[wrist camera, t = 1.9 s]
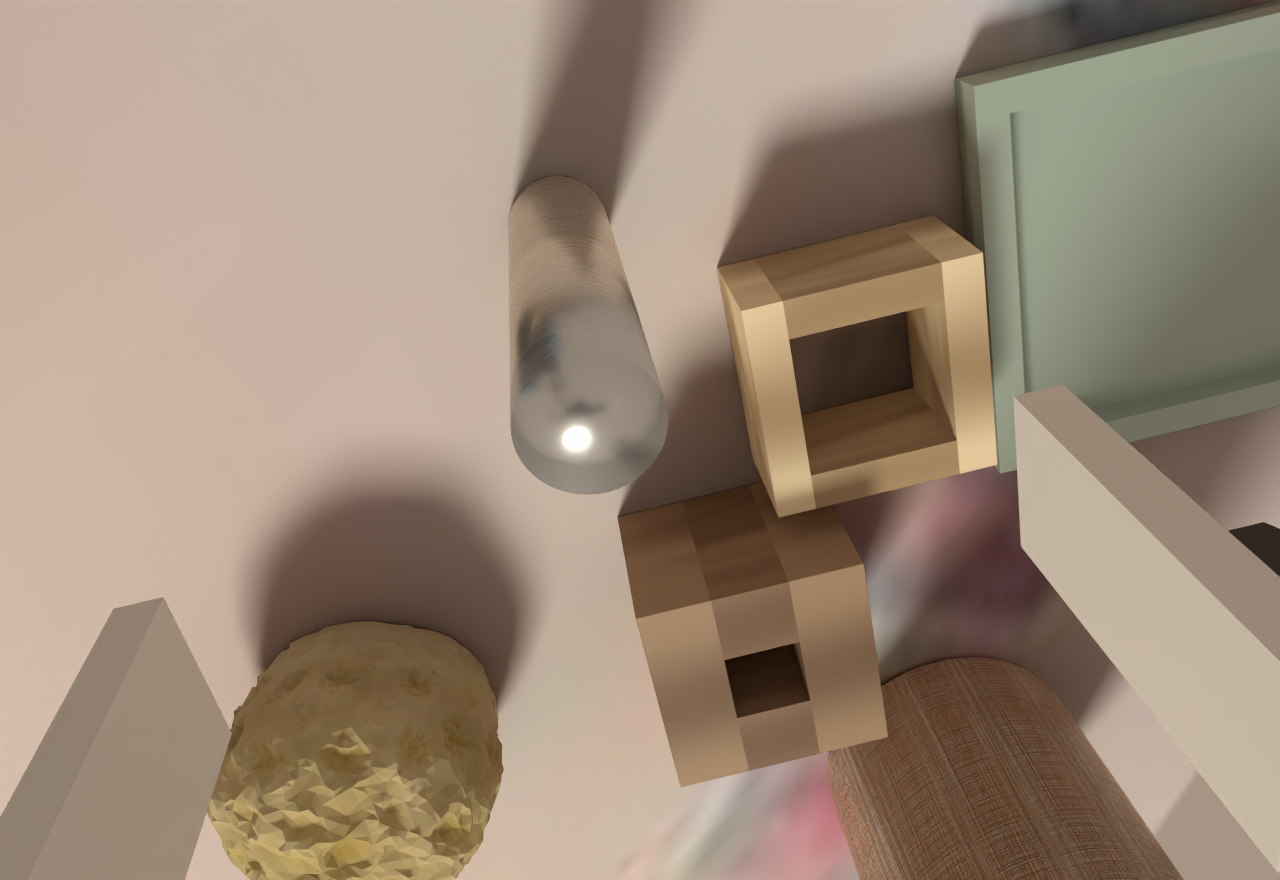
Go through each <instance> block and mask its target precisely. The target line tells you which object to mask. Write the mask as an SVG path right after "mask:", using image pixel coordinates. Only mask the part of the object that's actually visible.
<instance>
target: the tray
mask: <svg viewBox="0 0 1280 880" xmlns="http://www.w3.org/2000/svg"><path fill="white" fill-rule="evenodd" d="M955 89H956V102H957V116H958V129H959V142H960V155H961V169H962V182H963V195H964V208H965V222H966V235H967V241H968V242H969V243H971V244H972V245H973V246H975V247H976V248H977V249H979V250H980V251H981V252H983V263H984V277H985V292H986V306H987V321H988V335H989V350H990V365H991V379H992V394H993V408H994V423H995V437H996V452H997V465H994V467H995V468H996V470H997V471H998V472H999V473H1000V474H1001V473H1005V472H1010V471H1014V470H1017V458H1016V439H1015V420H1014V400H1013V396H1016V395H1020V394H1024V393H1029V392H1033V391H1037V390H1041V389H1046V388H1050V387H1054V386H1058V385H1062V384H1063V385H1064V386H1065V387H1066V388H1067V389H1068V390H1070V391H1071V392H1072V393H1073V394H1074V395H1075V396H1076V397H1077V398H1079V399H1080V400H1081V401H1082V402H1083V403H1084V404H1085V405H1086V406H1088V407H1089V408H1090V409H1091V410H1092V411H1093V412H1094V413H1095V414H1097V415H1098V416H1099V417H1100V418H1101V419H1102V420H1103V421H1104V422H1106V423H1107V424H1108V425H1109V426H1110V427H1111V428H1112V429H1114V430H1115V431H1116V432H1117V433H1118V434H1119V435H1120V436H1121V437H1123V438H1124V439H1125V440H1126V441H1127V442H1128V443H1129V442H1133V441H1137V440H1142V439H1146V438H1150V437H1154V436H1158V435H1162V434H1166V433H1170V432H1175V431H1179V430H1183V429H1187V428H1191V427H1195V426H1199V425H1203V424H1208V423H1212V422H1216V421H1220V420H1224V419H1228V418H1232V417H1236V416H1241V415H1245V414H1249V413H1253V412H1257V411H1261V410H1265V409H1269V408H1274V407H1278V406H1280V0H1277V1H1273V2H1269V3H1265V4H1261V5H1256V6H1252V7H1248V8H1244V9H1240V10H1236V11H1232V12H1227V13H1223V14H1219V15H1215V16H1211V17H1207V18H1203V19H1199V20H1194V21H1190V22H1186V23H1182V24H1178V25H1174V26H1170V27H1165V28H1161V29H1157V30H1153V31H1149V32H1145V33H1141V34H1136V35H1132V36H1128V37H1124V38H1120V39H1116V40H1112V41H1108V42H1103V43H1099V44H1095V45H1091V46H1087V47H1083V48H1079V49H1074V50H1070V51H1066V52H1062V53H1058V54H1054V55H1050V56H1046V57H1041V58H1037V59H1033V60H1029V61H1025V62H1021V63H1017V64H1012V65H1008V66H1004V67H1000V68H996V69H992V70H988V71H983V72H979V73H975V74H971V75H967V76H963V77H959V78H955Z"/></svg>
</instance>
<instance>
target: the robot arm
mask: <svg viewBox="0 0 1280 880" xmlns="http://www.w3.org/2000/svg"><path fill="white" fill-rule="evenodd" d="M1013 400H1014V420H1015V439H1016V458H1017V478H1018V497H1019V517H1020V536H1021V547H1022V548H1023V549H1024V551H1025V552H1026V553H1027V555H1028V556H1029V557H1030V558H1031V560H1032V561H1033V562H1034V563H1035V565H1036V566H1037V567H1038V568H1039V570H1040V571H1041V572H1042V574H1043V575H1044V576H1045V577H1046V579H1047V580H1048V581H1049V582H1050V584H1051V585H1052V586H1053V588H1054V589H1055V590H1056V591H1057V593H1058V594H1059V595H1060V596H1061V598H1062V599H1063V600H1064V602H1065V603H1066V604H1067V605H1068V607H1069V608H1070V609H1071V610H1072V612H1073V613H1074V614H1075V616H1076V617H1077V618H1078V619H1079V621H1080V622H1081V623H1082V624H1083V626H1084V627H1085V628H1086V630H1087V631H1088V632H1089V633H1090V635H1091V636H1092V637H1093V638H1094V640H1095V641H1096V642H1097V643H1098V645H1099V646H1100V647H1101V649H1102V650H1103V651H1104V652H1105V654H1106V655H1107V656H1108V657H1109V659H1110V660H1111V661H1112V663H1113V664H1114V665H1115V666H1116V668H1117V669H1118V670H1119V671H1120V673H1121V674H1122V675H1123V677H1124V678H1125V679H1126V680H1127V682H1128V683H1129V684H1130V685H1131V687H1132V688H1133V689H1134V691H1135V692H1136V693H1137V694H1138V696H1139V697H1140V698H1141V699H1142V701H1143V702H1144V703H1145V705H1146V706H1147V707H1148V708H1149V710H1150V711H1151V712H1152V713H1153V715H1154V716H1155V717H1156V719H1157V720H1158V721H1159V722H1160V724H1161V725H1162V726H1163V727H1164V729H1165V730H1166V731H1167V732H1168V734H1169V735H1170V736H1171V738H1172V739H1173V740H1174V741H1175V743H1176V744H1177V745H1178V746H1179V748H1180V749H1181V750H1182V752H1183V753H1184V754H1185V755H1186V757H1187V758H1188V759H1189V760H1190V762H1191V763H1192V764H1193V766H1194V767H1195V768H1196V769H1197V771H1198V772H1199V773H1200V774H1201V776H1202V777H1203V778H1204V779H1205V781H1206V782H1207V783H1208V784H1209V786H1210V787H1211V788H1212V790H1213V791H1214V792H1215V794H1216V795H1217V796H1218V797H1219V799H1220V800H1221V801H1222V802H1223V804H1224V805H1225V806H1226V807H1227V809H1228V810H1229V811H1230V813H1231V814H1232V815H1233V816H1234V818H1235V819H1236V820H1237V821H1238V823H1239V824H1240V825H1241V827H1242V828H1243V829H1244V830H1245V832H1246V833H1247V834H1248V835H1249V837H1250V838H1251V839H1252V841H1253V842H1254V843H1255V844H1256V846H1257V847H1258V848H1259V849H1260V851H1261V852H1262V853H1263V855H1264V856H1265V857H1266V858H1267V860H1268V861H1269V862H1270V863H1271V865H1272V866H1273V867H1274V868H1275V870H1276V871H1277V872H1280V529H1279V528H1276V527H1274V526H1272V525H1269V524H1267V523H1264V522H1263V523H1259V524H1254V525H1250V526H1246V527H1242V528H1238V529H1233V530H1229V531H1227V530H1226V529H1225V528H1224V527H1223V526H1222V525H1221V524H1220V523H1218V522H1217V521H1216V520H1215V519H1214V518H1213V517H1212V516H1211V515H1209V514H1208V513H1207V512H1206V511H1205V510H1204V509H1203V508H1201V507H1200V506H1199V505H1198V504H1197V503H1196V502H1195V501H1194V500H1192V499H1191V498H1190V497H1189V496H1188V495H1187V494H1186V493H1185V492H1183V491H1182V490H1181V489H1180V488H1179V487H1178V486H1177V485H1176V484H1174V483H1173V482H1172V481H1171V480H1170V479H1169V478H1168V477H1167V476H1165V475H1164V474H1163V473H1162V472H1161V471H1160V470H1159V469H1157V468H1156V467H1155V466H1154V465H1153V464H1152V463H1151V462H1150V461H1148V460H1147V459H1146V458H1145V457H1144V456H1143V455H1142V454H1141V453H1139V452H1138V451H1137V450H1136V449H1135V448H1134V447H1133V446H1132V445H1130V444H1129V443H1128V442H1127V441H1126V440H1125V439H1124V438H1123V437H1121V436H1120V435H1119V434H1118V433H1117V432H1116V431H1115V430H1114V429H1112V428H1111V427H1110V426H1109V425H1108V424H1107V423H1106V422H1104V421H1103V420H1102V419H1101V418H1100V417H1099V416H1098V415H1097V414H1095V413H1094V412H1093V411H1092V410H1091V409H1090V408H1089V407H1088V406H1086V405H1085V404H1084V403H1083V402H1082V401H1081V400H1080V399H1079V398H1077V397H1076V396H1075V395H1074V394H1073V393H1072V392H1071V391H1070V390H1068V389H1067V388H1066V387H1065V386H1064V385H1063V384H1062V385H1058V386H1054V387H1050V388H1046V389H1041V390H1037V391H1033V392H1029V393H1024V394H1020V395H1016V396H1013ZM231 735H232V733H231V731H230V729H229V727H228V725H227V723H226V721H225V719H224V717H223V715H222V713H221V711H220V709H219V707H218V705H217V703H216V701H215V699H214V697H213V695H212V693H211V691H210V689H209V687H208V685H207V683H206V681H205V679H204V677H203V675H202V673H201V671H200V669H199V667H198V665H197V663H196V661H195V659H194V657H193V655H192V653H191V651H190V649H189V647H188V645H187V643H186V641H185V639H184V637H183V635H182V633H181V631H180V629H179V627H178V625H177V623H176V621H175V619H174V617H173V615H172V613H171V611H170V609H169V607H168V605H167V603H166V601H165V599H164V597H162V598H158V599H153V600H149V601H145V602H141V603H137V604H132V605H128V606H124V607H120V608H115V609H113V611H112V613H111V615H110V616H109V618H108V620H107V622H106V624H105V626H104V627H103V629H102V631H101V633H100V635H99V637H98V638H97V640H96V642H95V644H94V646H93V648H92V650H91V651H90V653H89V655H88V657H87V659H86V661H85V662H84V664H83V666H82V668H81V670H80V672H79V673H78V675H77V677H76V679H75V681H74V683H73V685H72V686H71V688H70V690H69V692H68V694H67V696H66V697H65V699H64V701H63V703H62V705H61V707H60V708H59V710H58V712H57V714H56V716H55V718H54V719H53V721H52V723H51V725H50V727H49V729H48V731H47V732H46V734H45V736H44V738H43V740H42V742H41V743H40V745H39V747H38V749H37V751H36V753H35V754H34V756H33V758H32V760H31V762H30V764H29V766H28V767H27V769H26V771H25V773H24V775H23V777H22V778H21V780H20V782H19V784H18V786H17V788H16V789H15V791H14V793H13V795H12V797H11V799H10V801H9V802H8V804H7V806H6V808H5V810H4V812H3V813H2V815H1V817H0V880H185V877H186V874H187V871H188V868H189V865H190V862H191V859H192V856H193V853H194V849H195V846H196V843H197V840H198V837H199V834H200V831H201V828H202V825H203V822H204V818H205V815H206V812H207V809H208V806H209V803H210V800H211V797H212V794H213V791H214V788H215V784H216V781H217V778H218V775H219V772H220V769H221V766H222V763H223V760H224V757H225V753H226V750H227V747H228V744H229V741H230V738H231Z"/></svg>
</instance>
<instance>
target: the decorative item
mask: <svg viewBox="0 0 1280 880" xmlns="http://www.w3.org/2000/svg"><path fill="white" fill-rule="evenodd" d="M496 708H497V702H496V696H495V694H494V692H493V690H492V689H491V687H490V683H489V678H488V677H487V675H486V674H485V667H484V666H483V665H482V664H481V663H480V662H479V661H478V660H477V659H476V658H475V657H474V655H473V654H472V653H471V652H470V651H469V650H467V649H466V648H465V647H464V646H463V645H461V644H460V643H459V642H457V641H456V640H454V639H453V638H451V637H449V636H446V635H444V634H441V633H439V632H436V631H431V630H427V629H421V628H414V627H412V626H410V625H395V624H388V623H382V622H375V621H359V622H349V623H343V624H338V625H333V626H327V627H325V628H324V629H322V630H321V631H319V632H316V633H313V634H309V635H306V636H303V637H301V638H299V639H297V640H295V641H293V642H291V643H289V648H288V649H286V650H283V651H282V652H281V653H280V654H279V655H278V656H277V657H276V658H275V660H274V661H273V662H272V663H271V665H270V666H269V668H268V669H267V670H266V671H265V672H263V673H262V674H261V675H260V676H258V685H257V686H256V687H252V689H251V691H250V693H249V695H248V697H247V698H246V700H245V702H244V703H243V705H242V706H239V707H238V708H237V709H236V710H235V711H234V720H233V724H232V728H231V730H230V731H231V733H232V735H231V738H230V741H229V744H228V747H227V750H226V753H225V757H224V760H223V763H222V766H221V769H220V772H219V775H218V778H217V781H216V784H215V788H214V791H213V794H212V797H211V800H210V803H209V806H208V809H207V813H208V816H209V818H210V821H211V822H212V824H213V826H214V828H215V829H216V831H217V832H218V834H219V835H220V837H221V839H222V844H223V848H224V850H225V852H226V854H227V856H228V858H229V859H230V861H231V862H232V863H233V864H234V865H235V866H236V867H238V868H239V869H240V870H241V871H242V872H243V873H244V874H245V875H246V876H247V877H248V878H249V879H250V880H454V879H456V878H457V877H458V874H459V873H460V872H461V871H462V870H463V868H464V865H466V864H468V863H469V861H470V859H471V857H472V856H473V855H474V854H475V853H476V851H477V849H478V848H479V846H480V844H481V843H482V841H483V831H484V828H485V827H486V825H487V823H488V821H489V819H490V812H491V810H492V807H493V804H494V801H495V798H496V796H497V793H498V792H499V787H500V783H501V776H502V773H503V771H504V769H503V766H502V744H501V742H500V741H499V739H498V734H497V729H498V716H497V709H496Z"/></svg>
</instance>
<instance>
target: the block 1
mask: <svg viewBox="0 0 1280 880" xmlns="http://www.w3.org/2000/svg"><path fill="white" fill-rule="evenodd" d="M717 271H718V276H719V282H720V287H721V292H722V297H723V303H724V308H725V313H726V319H727V324H728V329H729V335H730V340H731V345H732V351H733V356H734V361H735V367H736V372H737V377H738V382H739V388H740V393H741V398H742V404H743V409H744V414H745V420H746V425H747V430H748V436H749V441H750V446H751V451H752V457H753V460H754V462H755V465H756V467H757V469H758V471H759V474H760V476H761V478H762V481H763V483H764V485H765V488H766V490H767V492H768V494H769V497H770V499H771V501H772V504H773V506H774V508H775V510H776V513H777V515H778V517H784V516H788V515H792V514H796V513H800V512H804V511H808V510H813V509H817V508H821V507H825V506H829V505H833V504H837V503H841V502H846V501H850V500H854V499H858V498H862V497H866V496H870V495H874V494H879V493H883V492H887V491H891V490H895V489H899V488H903V487H907V486H912V485H916V484H920V483H924V482H928V481H932V480H936V479H940V478H945V477H949V476H953V475H957V474H961V473H965V472H969V471H973V470H978V469H982V468H986V467H990V466H994V465H997V452H996V437H995V423H994V408H993V394H992V379H991V365H990V350H989V335H988V321H987V306H986V292H985V277H984V263H983V252H981V251H980V250H979V249H977V248H976V247H975V246H973V245H972V244H971V243H969V242H968V241H967V240H966V239H964V238H963V237H962V236H960V235H959V234H958V233H956V232H955V231H954V230H952V229H951V228H950V227H948V226H947V225H946V224H944V223H943V222H942V221H940V220H939V219H938V218H937V217H935V216H934V215H932V216H928V217H924V218H920V219H916V220H912V221H907V222H903V223H899V224H895V225H891V226H887V227H883V228H878V229H874V230H870V231H866V232H862V233H858V234H854V235H850V236H845V237H841V238H837V239H833V240H829V241H825V242H821V243H816V244H812V245H808V246H804V247H800V248H796V249H792V250H788V251H783V252H779V253H775V254H771V255H767V256H763V257H759V258H754V259H750V260H746V261H742V262H738V263H734V264H730V265H726V266H721V267H717ZM905 311H906V320H907V330H908V339H909V348H910V358H911V367H912V377H913V386H914V388H910V389H906V390H902V391H898V392H894V393H890V394H886V395H881V396H877V397H873V398H869V399H865V400H861V401H857V402H853V403H848V404H844V405H840V406H836V407H832V408H828V409H824V410H820V411H815V412H811V413H807V414H803V415H801V411H800V405H799V399H798V393H797V387H796V380H795V374H794V368H793V362H792V356H791V349H790V343H789V340H790V339H794V338H798V337H802V336H806V335H810V334H814V333H818V332H823V331H827V330H831V329H835V328H839V327H843V326H847V325H852V324H856V323H860V322H864V321H868V320H872V319H876V318H880V317H885V316H889V315H893V314H897V313H901V312H905Z"/></svg>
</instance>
